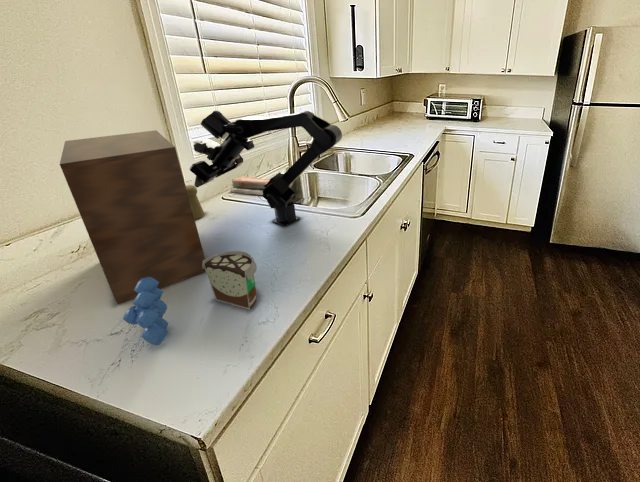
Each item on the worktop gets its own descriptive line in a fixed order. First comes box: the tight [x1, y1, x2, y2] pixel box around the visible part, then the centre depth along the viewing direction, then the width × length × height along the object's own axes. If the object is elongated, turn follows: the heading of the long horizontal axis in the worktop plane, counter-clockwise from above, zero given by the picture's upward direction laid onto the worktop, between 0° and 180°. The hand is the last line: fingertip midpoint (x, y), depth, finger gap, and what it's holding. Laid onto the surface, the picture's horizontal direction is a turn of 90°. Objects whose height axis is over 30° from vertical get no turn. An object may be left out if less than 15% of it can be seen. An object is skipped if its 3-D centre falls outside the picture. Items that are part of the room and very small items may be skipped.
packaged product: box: [229, 175, 271, 196], centre depth 133 cm, size 18×5×10 cm
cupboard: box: [59, 129, 206, 305], centre depth 80 cm, size 18×26×32 cm
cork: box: [185, 184, 205, 221], centre depth 109 cm, size 6×6×11 cm
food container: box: [202, 250, 258, 311], centre depth 71 cm, size 12×6×10 cm, turn 71°
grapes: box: [122, 277, 170, 346], centre depth 60 cm, size 12×7×12 cm, turn 31°
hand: (205, 181), depth 106 cm, fingers open, 9 cm apart
